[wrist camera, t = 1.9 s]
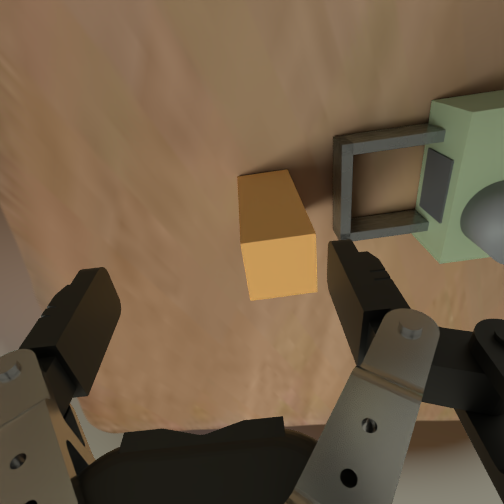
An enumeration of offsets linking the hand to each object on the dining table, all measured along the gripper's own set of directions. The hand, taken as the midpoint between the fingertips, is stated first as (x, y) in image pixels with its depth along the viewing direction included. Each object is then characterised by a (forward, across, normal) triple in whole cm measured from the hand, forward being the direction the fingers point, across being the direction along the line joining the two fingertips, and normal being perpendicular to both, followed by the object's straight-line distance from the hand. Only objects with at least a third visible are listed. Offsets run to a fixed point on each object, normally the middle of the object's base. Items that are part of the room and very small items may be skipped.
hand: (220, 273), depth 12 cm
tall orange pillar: (+22, +3, -7) cm, 23 cm away
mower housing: (+22, +22, -6) cm, 32 cm away
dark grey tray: (+22, +15, -7) cm, 27 cm away
